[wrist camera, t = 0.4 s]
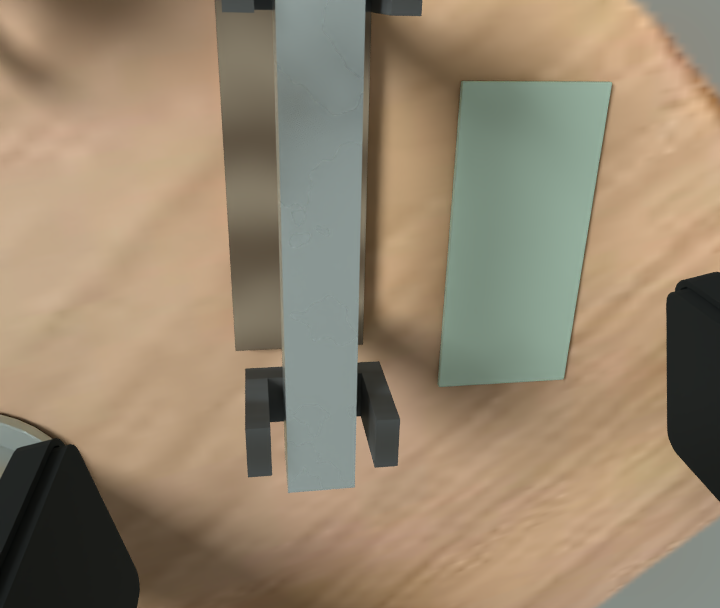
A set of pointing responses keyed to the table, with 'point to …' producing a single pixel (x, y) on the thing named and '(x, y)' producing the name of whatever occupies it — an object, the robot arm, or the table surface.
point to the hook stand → (260, 224)
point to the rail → (319, 232)
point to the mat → (518, 227)
